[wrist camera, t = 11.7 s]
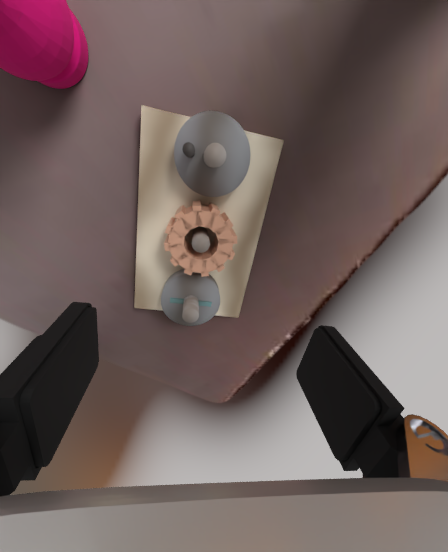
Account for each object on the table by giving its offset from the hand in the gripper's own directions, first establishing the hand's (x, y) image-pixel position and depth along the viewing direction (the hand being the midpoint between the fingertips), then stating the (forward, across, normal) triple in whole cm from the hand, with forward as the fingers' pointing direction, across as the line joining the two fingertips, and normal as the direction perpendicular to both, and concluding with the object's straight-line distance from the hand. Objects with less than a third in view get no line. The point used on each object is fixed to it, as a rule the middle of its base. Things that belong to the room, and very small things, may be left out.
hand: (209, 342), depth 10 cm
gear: (+18, 0, 0) cm, 19 cm away
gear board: (+20, 0, 0) cm, 20 cm away
